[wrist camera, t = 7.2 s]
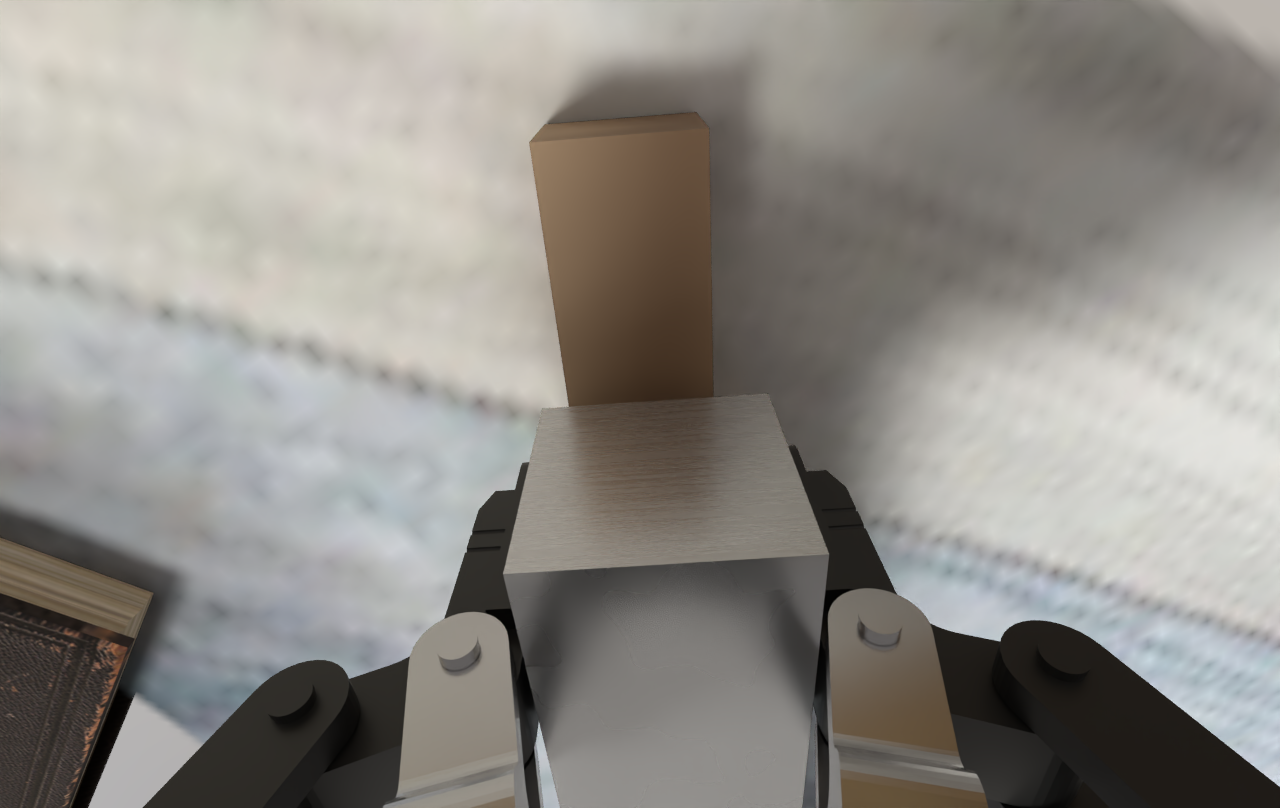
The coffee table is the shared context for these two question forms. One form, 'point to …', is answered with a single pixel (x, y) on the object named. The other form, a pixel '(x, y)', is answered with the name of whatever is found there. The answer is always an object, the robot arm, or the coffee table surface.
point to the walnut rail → (629, 255)
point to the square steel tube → (669, 603)
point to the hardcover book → (60, 675)
